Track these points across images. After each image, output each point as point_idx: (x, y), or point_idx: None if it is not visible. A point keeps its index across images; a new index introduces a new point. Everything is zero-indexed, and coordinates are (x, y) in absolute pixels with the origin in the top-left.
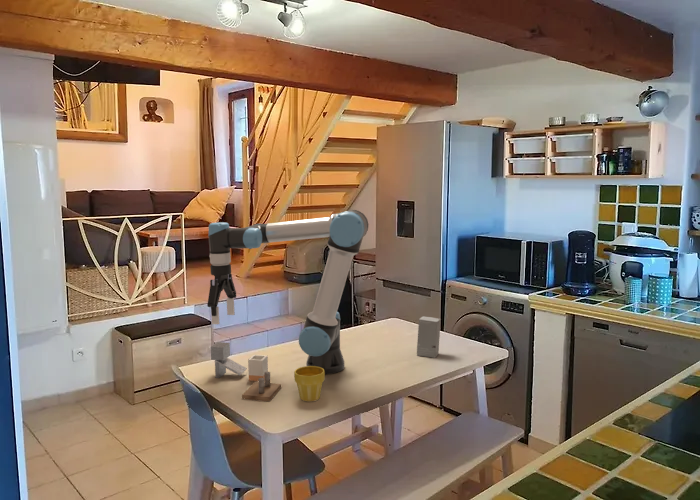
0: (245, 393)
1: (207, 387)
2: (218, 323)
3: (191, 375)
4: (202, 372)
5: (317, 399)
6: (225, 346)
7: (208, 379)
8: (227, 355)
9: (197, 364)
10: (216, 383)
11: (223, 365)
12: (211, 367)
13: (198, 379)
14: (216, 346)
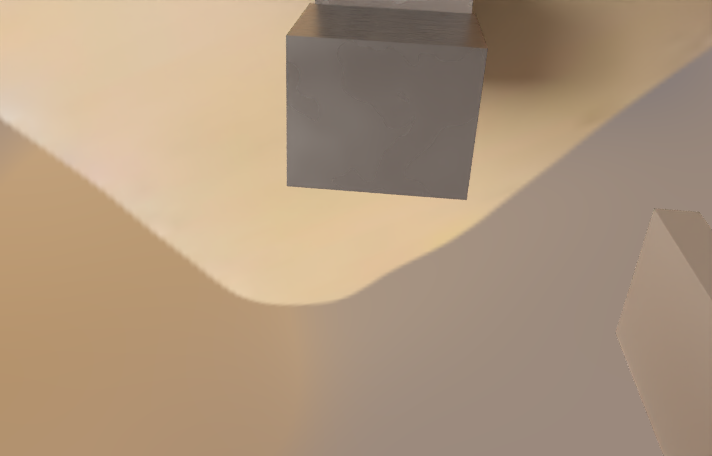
0: None
1: (661, 45)
2: (704, 224)
3: (424, 241)
4: (357, 192)
5: None
6: (415, 42)
7: (491, 99)
8: (373, 11)
9: (216, 276)
10: (575, 5)
11: (471, 5)
12: (248, 167)
13: (496, 169)
14: (448, 142)
